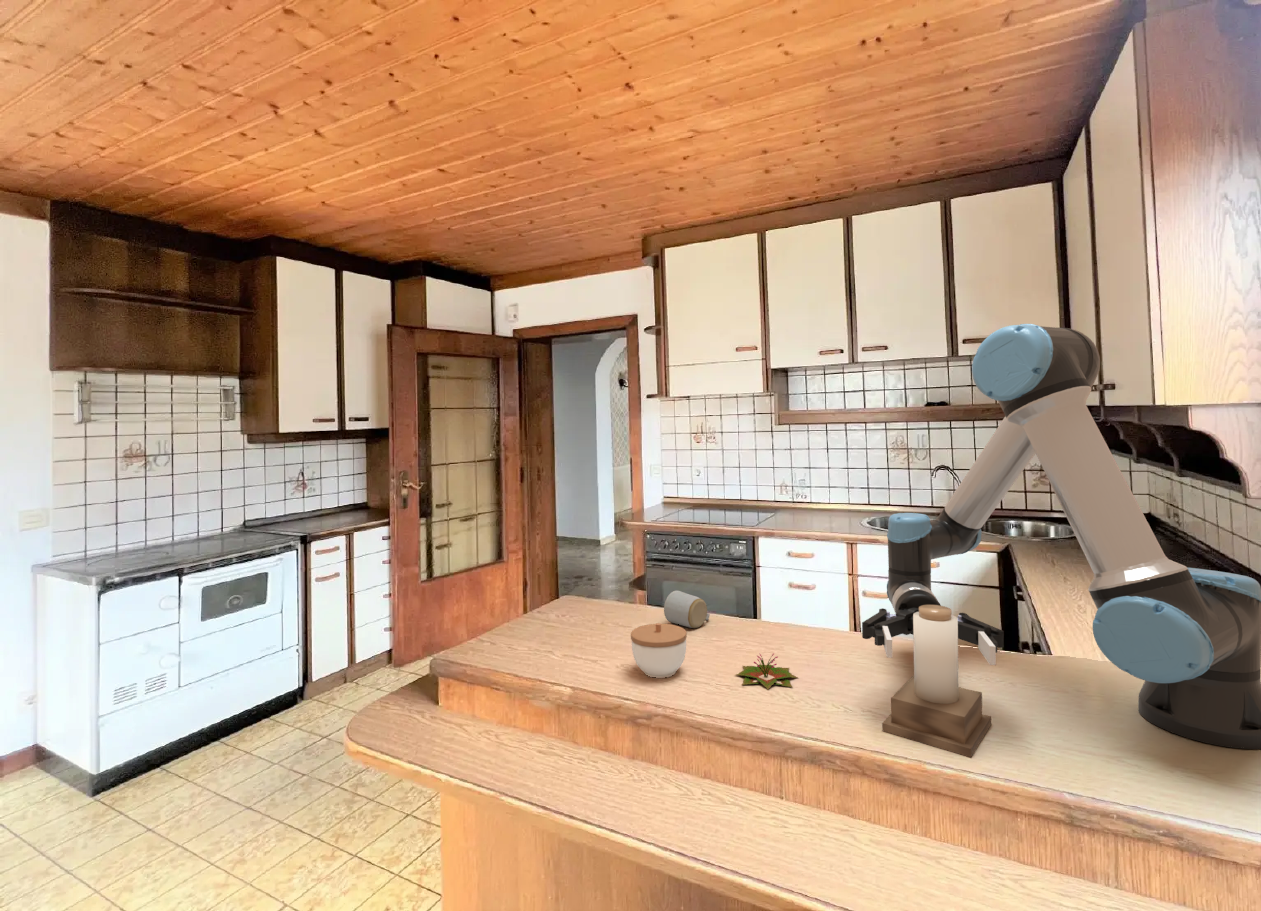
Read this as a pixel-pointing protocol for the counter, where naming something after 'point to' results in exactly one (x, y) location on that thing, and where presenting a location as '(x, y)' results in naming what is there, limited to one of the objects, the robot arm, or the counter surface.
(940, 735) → the pedestal
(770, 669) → the lily flower
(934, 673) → the canister
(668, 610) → the ceramic mug
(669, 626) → the lidded jar
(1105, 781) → the counter surface
